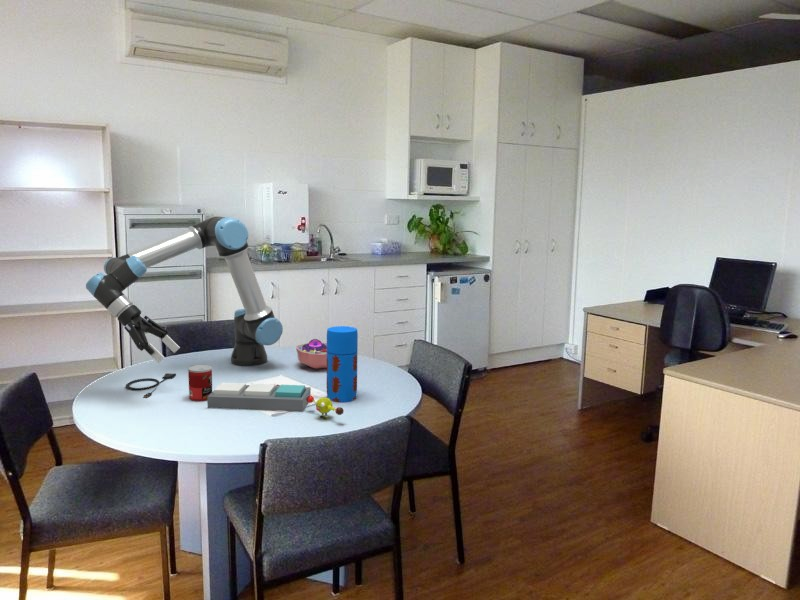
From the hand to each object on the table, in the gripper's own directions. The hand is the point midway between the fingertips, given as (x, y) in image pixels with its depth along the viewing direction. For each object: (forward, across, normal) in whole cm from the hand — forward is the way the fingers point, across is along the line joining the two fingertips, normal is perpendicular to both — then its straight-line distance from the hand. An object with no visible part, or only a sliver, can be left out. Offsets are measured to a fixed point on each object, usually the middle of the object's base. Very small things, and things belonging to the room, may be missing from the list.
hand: (169, 355), depth 221 cm
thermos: (+53, -6, +31) cm, 62 cm away
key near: (+25, +3, +6) cm, 26 cm away
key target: (+40, +3, +21) cm, 45 cm away
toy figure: (+51, +15, +29) cm, 61 cm away
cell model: (+42, -45, +20) cm, 65 cm away
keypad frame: (+34, +3, +12) cm, 36 cm away
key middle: (+32, +3, +14) cm, 35 cm away
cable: (+1, -12, -22) cm, 25 cm away
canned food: (+18, 0, -3) cm, 19 cm away
